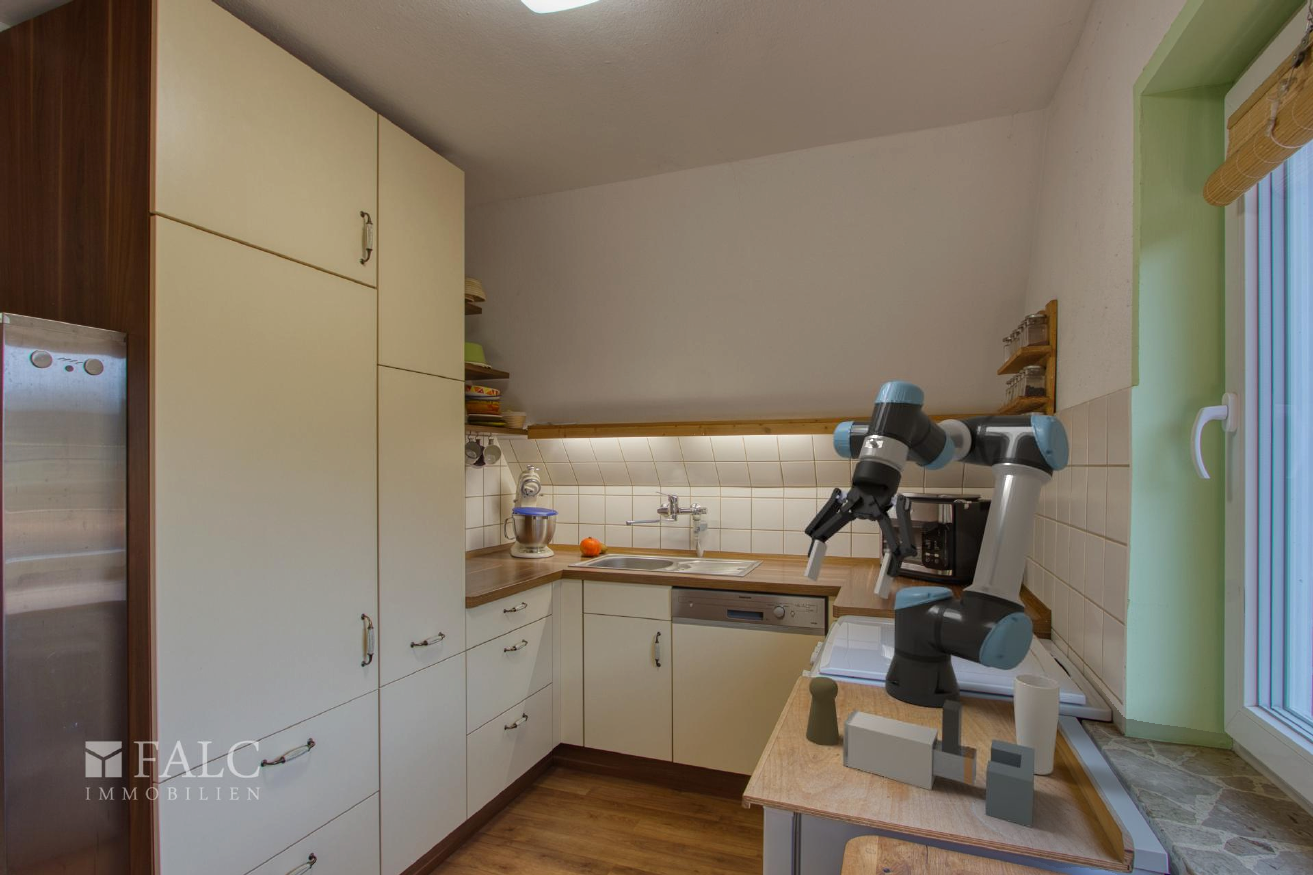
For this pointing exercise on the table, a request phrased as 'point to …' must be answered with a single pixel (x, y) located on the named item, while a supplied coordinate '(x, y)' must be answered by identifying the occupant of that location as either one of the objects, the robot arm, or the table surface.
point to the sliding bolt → (953, 748)
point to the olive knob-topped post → (823, 712)
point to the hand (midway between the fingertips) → (843, 587)
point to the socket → (1010, 782)
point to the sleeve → (889, 748)
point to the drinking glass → (1037, 717)
